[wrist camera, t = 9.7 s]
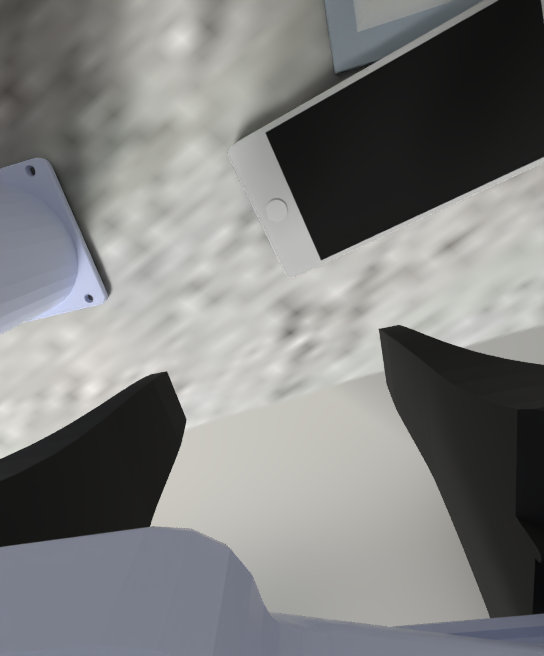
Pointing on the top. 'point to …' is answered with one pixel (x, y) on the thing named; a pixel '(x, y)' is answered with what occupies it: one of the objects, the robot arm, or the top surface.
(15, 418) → the top surface
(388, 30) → the sticky note
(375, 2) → the charger plug
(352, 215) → the smartphone
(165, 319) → the top surface
